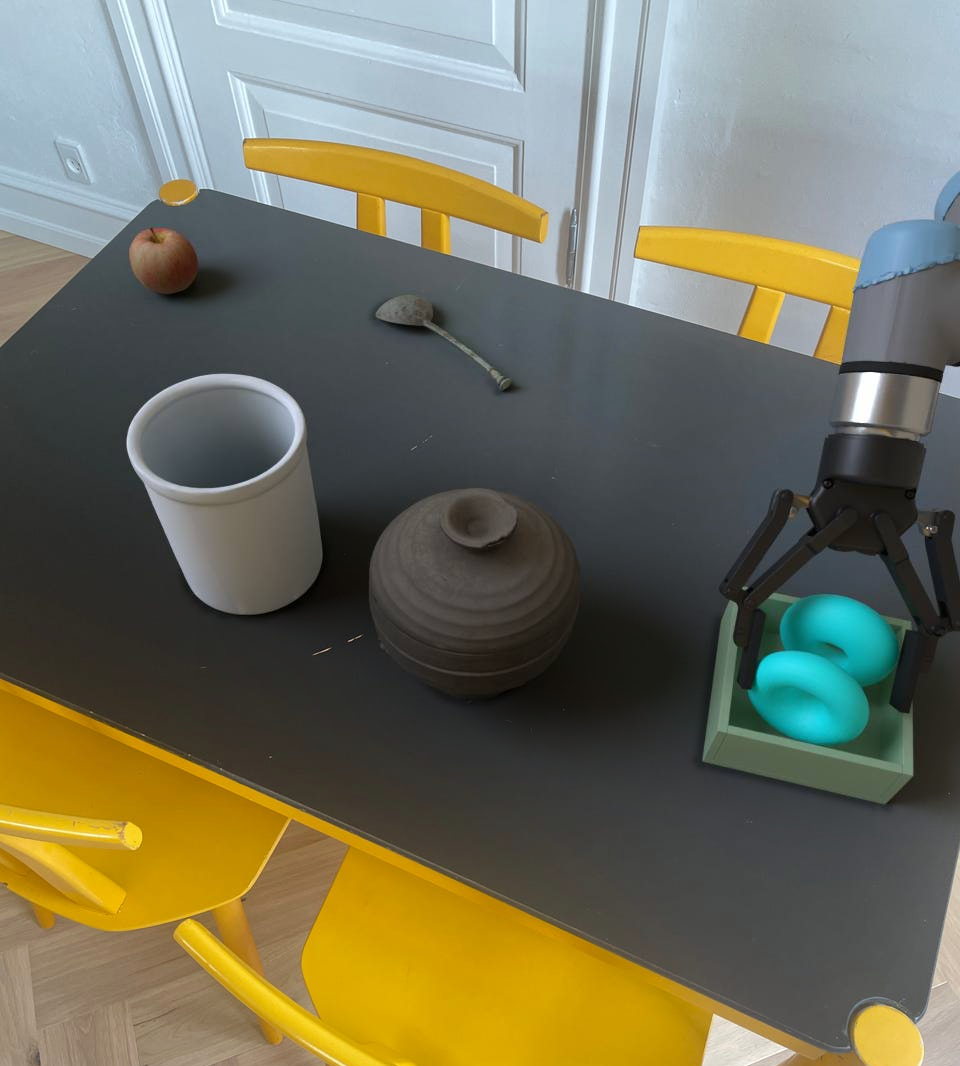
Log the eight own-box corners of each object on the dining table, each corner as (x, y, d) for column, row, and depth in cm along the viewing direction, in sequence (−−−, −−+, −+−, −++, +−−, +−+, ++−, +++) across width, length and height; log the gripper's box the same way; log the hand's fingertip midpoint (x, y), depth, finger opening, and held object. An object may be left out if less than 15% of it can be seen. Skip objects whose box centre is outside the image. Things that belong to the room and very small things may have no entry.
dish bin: (886, 656, 84) (911, 621, 79) (885, 804, 76) (913, 775, 71) (720, 620, 86) (736, 584, 81) (702, 761, 78) (717, 730, 73)
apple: (126, 288, 114) (105, 229, 107) (175, 260, 117) (158, 202, 111) (166, 314, 111) (147, 255, 104) (215, 285, 114) (200, 226, 108)
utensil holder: (241, 486, 95) (200, 351, 80) (358, 538, 91) (338, 406, 77) (150, 582, 88) (87, 452, 73) (273, 642, 84) (233, 518, 69)
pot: (610, 621, 85) (628, 485, 68) (510, 770, 78) (502, 661, 61) (455, 543, 91) (436, 399, 73) (349, 676, 83) (300, 551, 66)
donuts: (876, 686, 80) (923, 623, 72) (835, 769, 76) (880, 713, 67) (774, 634, 83) (808, 568, 75) (728, 711, 79) (759, 650, 70)
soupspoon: (407, 298, 114) (367, 322, 112) (403, 275, 112) (363, 298, 109) (526, 378, 105) (485, 405, 103) (526, 354, 102) (484, 382, 100)
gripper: (1013, 456, 73) (951, 707, 77) (714, 419, 75) (671, 665, 79) (1061, 454, 65) (990, 732, 70) (728, 414, 67) (680, 686, 72)
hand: (820, 697), depth 74 cm, fingers closed on donuts, 12 cm apart
